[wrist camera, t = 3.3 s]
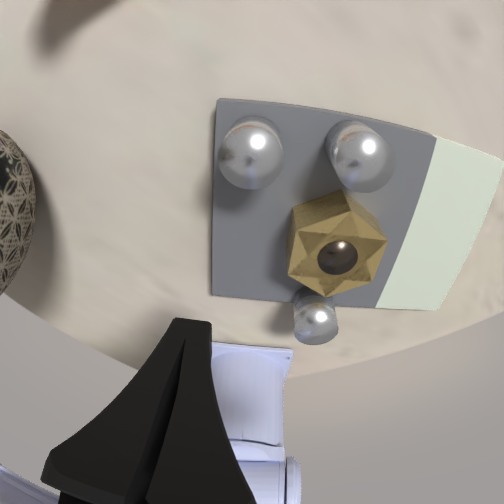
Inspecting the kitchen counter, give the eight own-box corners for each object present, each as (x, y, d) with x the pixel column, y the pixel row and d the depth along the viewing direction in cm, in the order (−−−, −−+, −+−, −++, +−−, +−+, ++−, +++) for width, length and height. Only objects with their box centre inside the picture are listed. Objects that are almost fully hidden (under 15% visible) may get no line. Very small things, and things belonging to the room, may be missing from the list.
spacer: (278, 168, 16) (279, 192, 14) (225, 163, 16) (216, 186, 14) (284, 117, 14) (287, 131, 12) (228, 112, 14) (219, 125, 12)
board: (433, 301, 23) (437, 309, 22) (214, 285, 22) (212, 295, 22) (496, 157, 15) (505, 162, 14) (219, 98, 15) (216, 100, 14)
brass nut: (356, 273, 20) (364, 300, 18) (282, 266, 20) (283, 294, 18) (382, 195, 16) (396, 218, 14) (297, 183, 16) (301, 204, 14)
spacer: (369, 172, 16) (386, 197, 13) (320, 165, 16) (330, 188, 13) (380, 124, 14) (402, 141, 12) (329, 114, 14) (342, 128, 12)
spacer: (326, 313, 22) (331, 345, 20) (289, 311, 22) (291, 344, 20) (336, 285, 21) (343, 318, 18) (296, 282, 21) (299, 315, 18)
